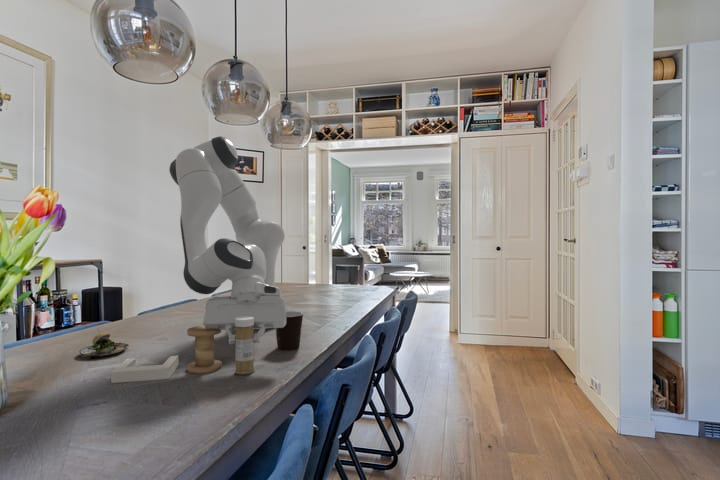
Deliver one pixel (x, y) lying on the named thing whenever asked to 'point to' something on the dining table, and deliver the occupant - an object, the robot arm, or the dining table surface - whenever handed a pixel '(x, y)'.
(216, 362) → the oak spool
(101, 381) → the dining table surface
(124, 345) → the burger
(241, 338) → the sprinkles bottle
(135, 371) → the notched board
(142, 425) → the dining table surface
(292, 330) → the dark brown cup
